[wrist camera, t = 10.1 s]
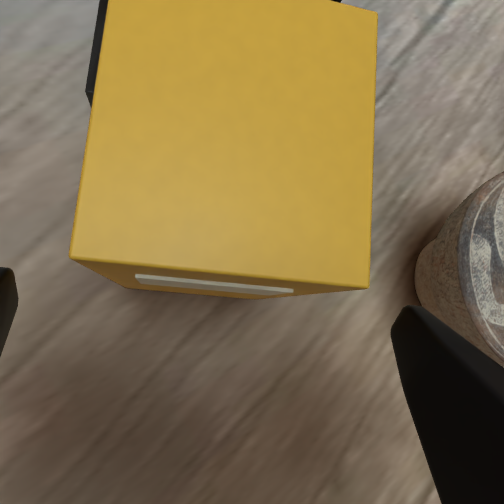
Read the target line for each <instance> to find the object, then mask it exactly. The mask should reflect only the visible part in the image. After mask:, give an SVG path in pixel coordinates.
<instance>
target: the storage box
mask: <svg viewBox="0 0 504 504" xmlns="http://www.w3.org/2000/svg"><path fill="white" fill-rule="evenodd" d="M377 26H378V14H377V13H376V12H374V11H370V10H366V9H362V8H358V7H354V6H350V5H347V4H343V3H339V2H335V1H331V0H108V5H107V12H106V18H105V24H104V31H103V37H102V44H101V50H100V57H99V63H98V69H97V76H96V82H95V89H94V95H93V101H92V108H91V114H90V121H89V127H88V134H87V140H86V146H85V153H84V159H83V166H82V172H81V179H80V185H79V191H78V198H77V204H76V211H75V217H74V223H73V230H72V236H71V243H70V249H69V258H70V259H72V260H74V261H76V262H78V263H80V264H82V265H83V266H85V267H87V268H89V269H91V270H93V271H95V272H97V273H99V274H101V275H102V276H104V277H106V278H108V279H110V280H112V281H114V282H116V283H118V284H120V285H121V286H123V287H125V288H132V289H143V290H154V291H166V292H177V293H188V294H200V295H211V296H222V297H233V298H245V299H265V298H276V297H286V296H297V295H308V294H318V293H329V292H340V291H350V290H361V289H367V288H369V281H370V250H371V218H372V186H373V154H374V122H375V90H376V58H377Z"/></svg>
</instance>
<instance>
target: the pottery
mask: <svg viewBox="0 0 504 504" xmlns="http://www.w3.org/2000/svg"><path fill="white" fill-rule="evenodd" d="M415 288H416V292H417V296H418V298H419V300H420V302H421V304H422V306H423V307H424V308H425V309H426V310H428V311H429V312H430V313H432V314H433V315H434V316H436V317H437V318H438V319H440V320H441V321H442V322H444V323H445V324H446V325H448V326H449V327H451V328H452V329H453V330H454V331H456V332H457V333H458V334H460V335H461V336H462V337H464V338H465V339H466V340H468V341H469V342H470V343H472V344H473V345H474V346H475V347H477V348H478V349H479V350H481V351H482V352H483V353H485V354H486V355H487V356H489V357H490V358H491V359H493V360H494V361H495V362H497V363H498V364H500V365H502V366H504V172H502V173H500V174H498V175H496V176H495V177H493V178H492V179H490V180H488V181H487V182H485V183H484V184H483V185H482V186H480V187H479V188H478V189H476V190H475V191H474V192H473V193H472V194H470V195H469V196H468V197H467V198H466V199H465V200H464V201H463V202H462V203H461V204H460V205H459V206H458V207H457V208H456V209H455V210H454V212H453V213H452V214H451V215H450V216H449V218H448V219H447V220H446V222H445V224H444V225H443V227H442V228H441V230H440V232H439V234H438V236H437V238H436V239H434V240H433V241H431V242H430V243H428V245H427V246H425V247H424V249H423V250H422V251H421V253H420V255H419V257H418V259H417V263H416V269H415Z"/></svg>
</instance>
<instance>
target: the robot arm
mask: <svg viewBox="0 0 504 504" xmlns="http://www.w3.org/2000/svg"><path fill="white" fill-rule="evenodd" d="M17 306H18V293H17V288H16V282H15V276H14V272H13V271H12V269H10V268H5V267H0V356H1V354H2V351H3V348H4V345H5V342H6V339H7V336H8V333H9V330H10V327H11V324H12V322H13V319H14V316H15V313H16V310H17ZM391 340H392V344H393V349H394V353H395V357H396V362H397V366H398V370H399V375H400V379H401V383H402V387H403V391H404V394H405V397H406V401H407V404H408V406H409V409H410V412H411V415H412V418H413V421H414V424H415V427H416V430H417V433H418V436H419V439H420V442H421V445H422V448H423V451H424V453H425V456H426V459H427V462H428V465H429V468H430V471H431V474H432V477H433V480H434V483H435V486H436V489H437V492H438V495H439V498H440V501H441V503H442V504H504V368H503V367H502V366H501V365H499V364H498V363H497V362H495V361H494V360H493V359H491V358H490V357H489V356H487V355H486V354H485V353H483V352H482V351H481V350H479V349H478V348H477V347H475V346H474V345H473V344H472V343H470V342H469V341H468V340H466V339H465V338H464V337H462V336H461V335H460V334H458V333H457V332H456V331H454V330H453V329H452V328H450V327H449V326H448V325H446V324H445V323H444V322H442V321H441V320H440V319H438V318H437V317H436V316H434V315H433V314H432V313H430V312H429V311H428V310H426V309H425V308H424V307H421V306H414V305H407V306H405V307H403V309H402V310H401V312H400V314H399V315H398V317H397V319H396V320H395V322H394V324H393V325H392V328H391Z"/></svg>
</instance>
